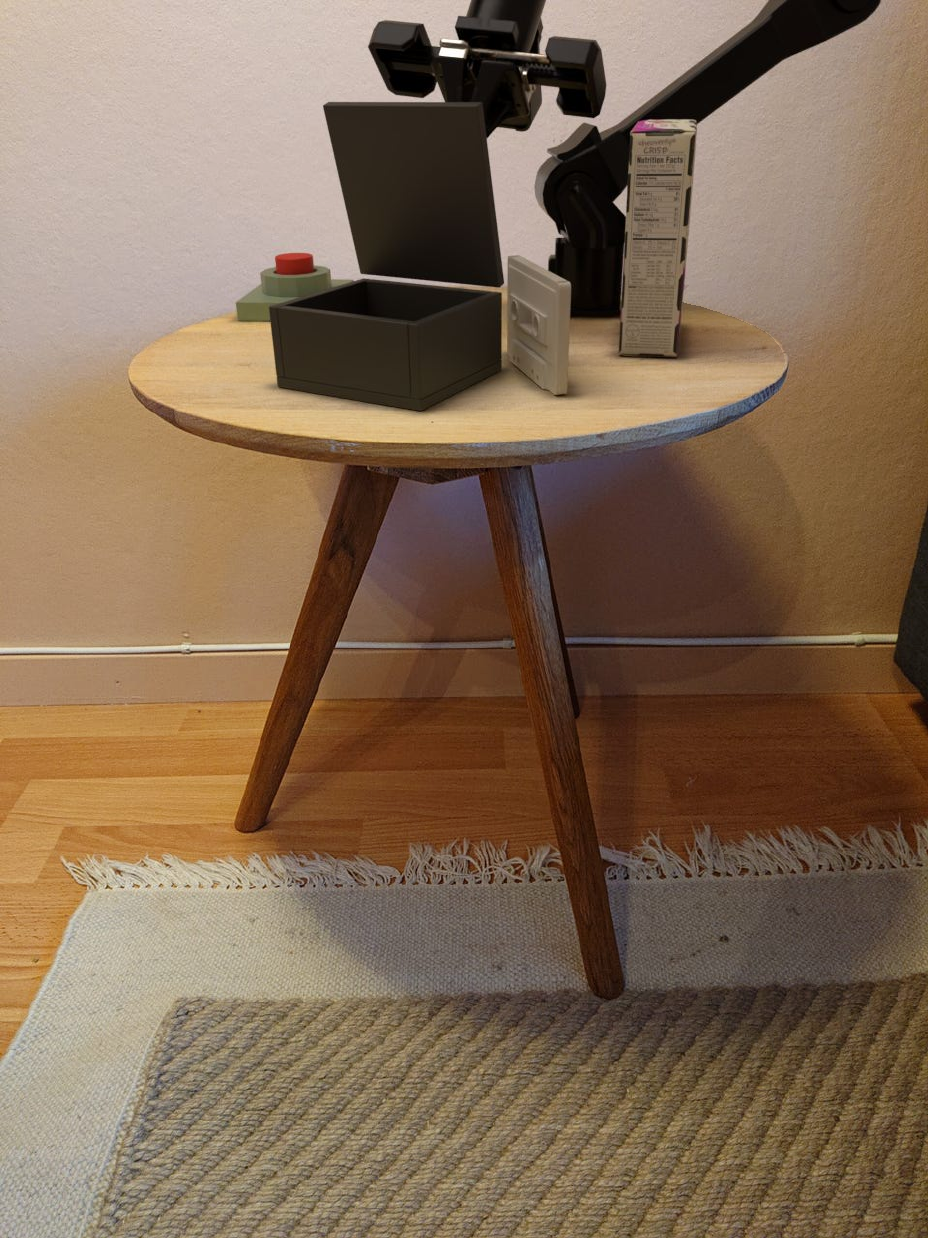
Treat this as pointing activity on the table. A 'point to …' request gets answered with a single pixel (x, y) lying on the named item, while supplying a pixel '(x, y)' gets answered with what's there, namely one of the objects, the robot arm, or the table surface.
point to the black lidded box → (387, 341)
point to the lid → (418, 189)
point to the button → (294, 263)
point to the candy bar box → (656, 236)
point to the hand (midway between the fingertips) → (457, 164)
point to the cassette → (538, 323)
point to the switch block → (282, 291)
